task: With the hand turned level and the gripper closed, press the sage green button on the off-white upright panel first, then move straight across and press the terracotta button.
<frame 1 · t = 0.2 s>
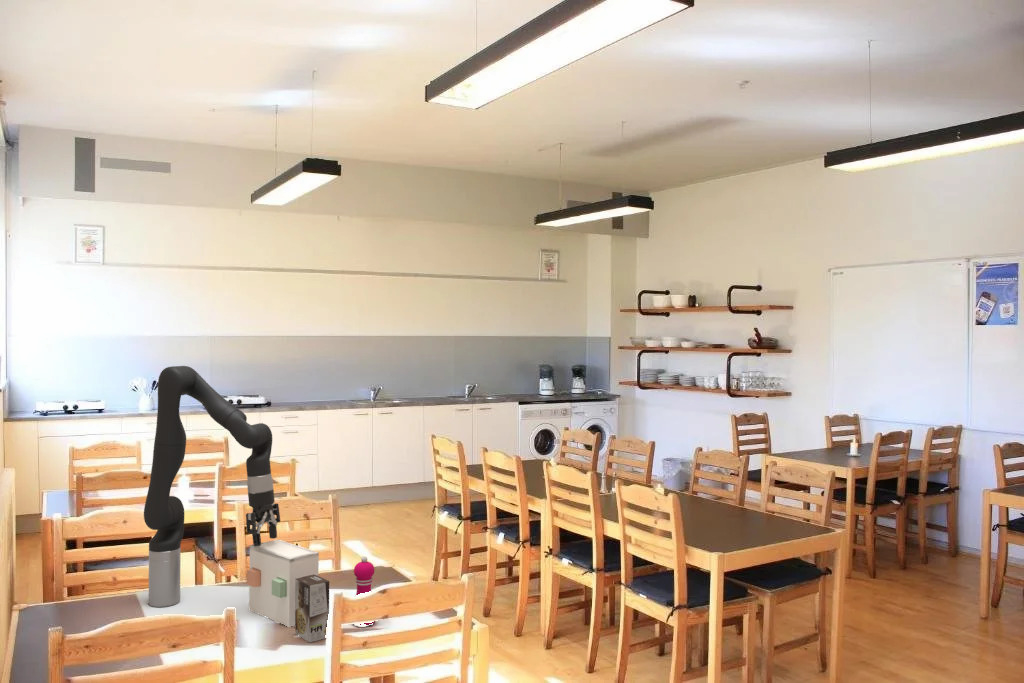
hand: (265, 542, 250), 22 cm above the table, tool pointing down, fingers open, 8 cm apart
coffee box: (311, 636, 232), on the table
pepper mill: (363, 624, 242), on the table
terracotta button: (256, 577, 250), point 11 cm above the table, slide at 0.0 cm
sage button: (281, 587, 240), point 11 cm above the table, slide at 0.0 cm
button panel: (283, 614, 249), on the table
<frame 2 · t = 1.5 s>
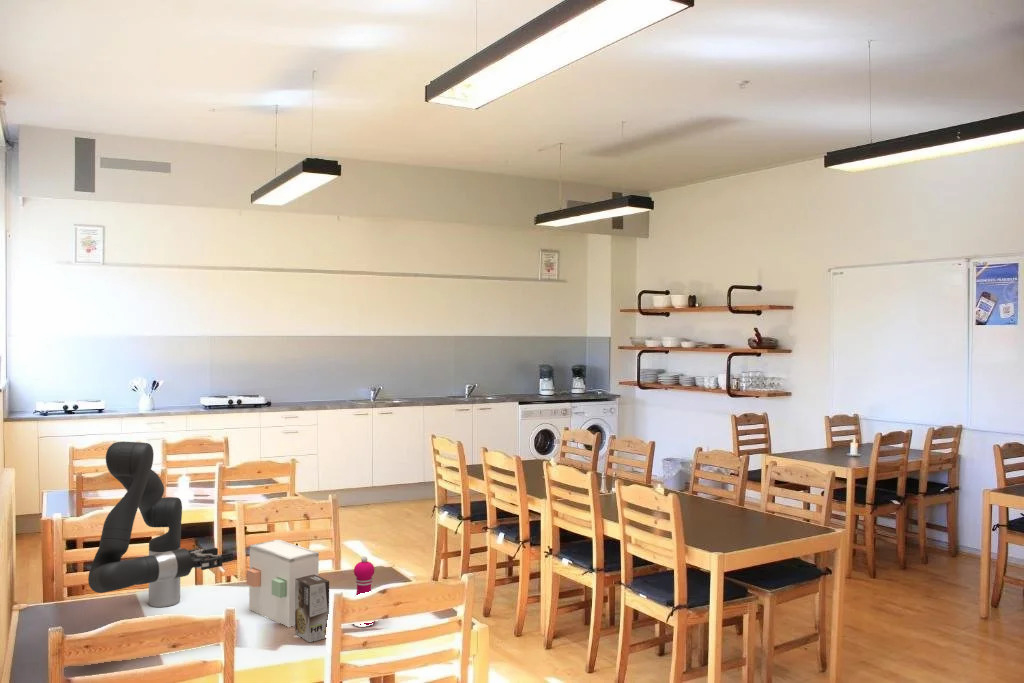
hand: (224, 554, 234), 22 cm above the table, tool horizontal, fingers open, 8 cm apart
nothing on the table moved.
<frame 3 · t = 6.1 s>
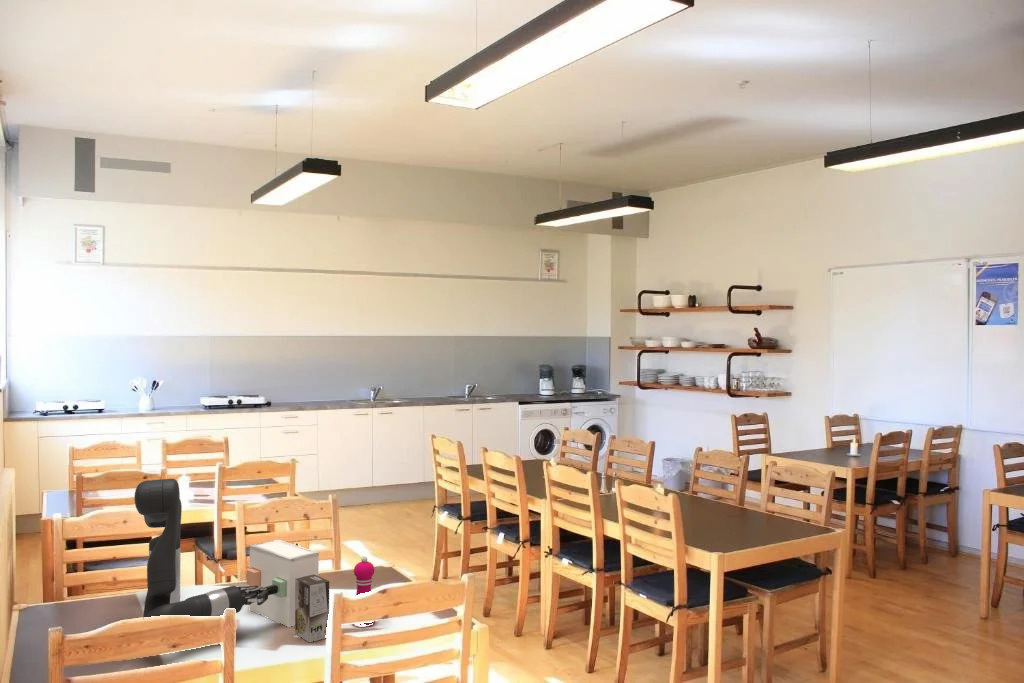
hand: (276, 588, 239), 11 cm above the table, tool horizontal, fingers closed
sage button: (282, 587, 241), point 11 cm above the table, slide at 0.2 cm, touching gripper
everything else where it was.
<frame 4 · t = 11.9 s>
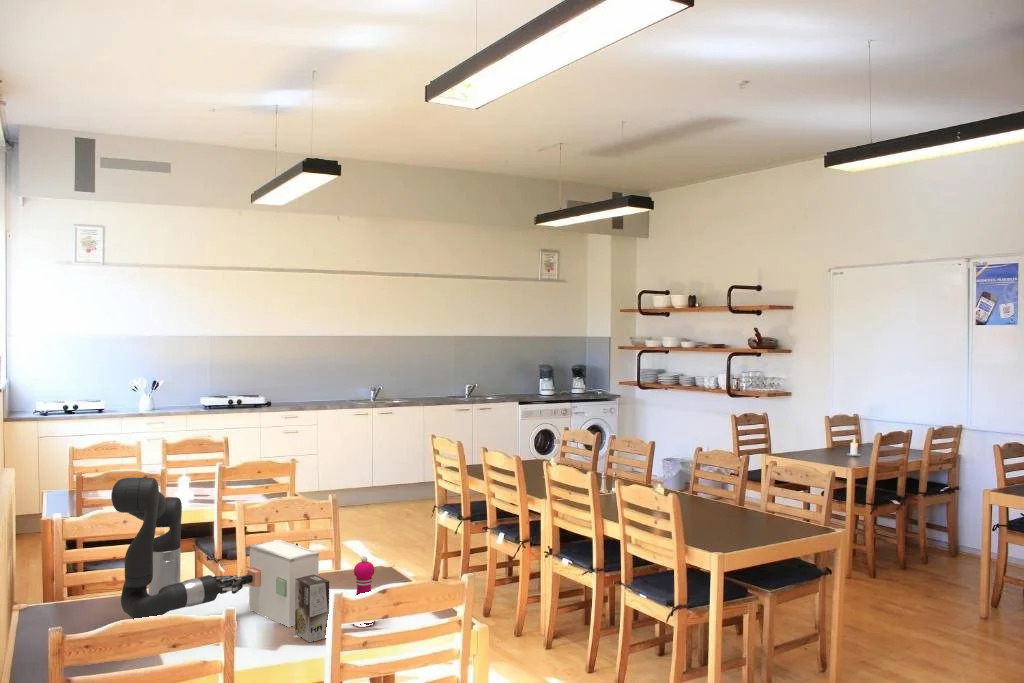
hand: (251, 578, 248), 11 cm above the table, tool horizontal, fingers closed
terracotta button: (257, 576, 250), point 11 cm above the table, slide at 0.2 cm, touching gripper
sage button: (286, 586, 242), point 11 cm above the table, slide at 1.4 cm
everything else where it was.
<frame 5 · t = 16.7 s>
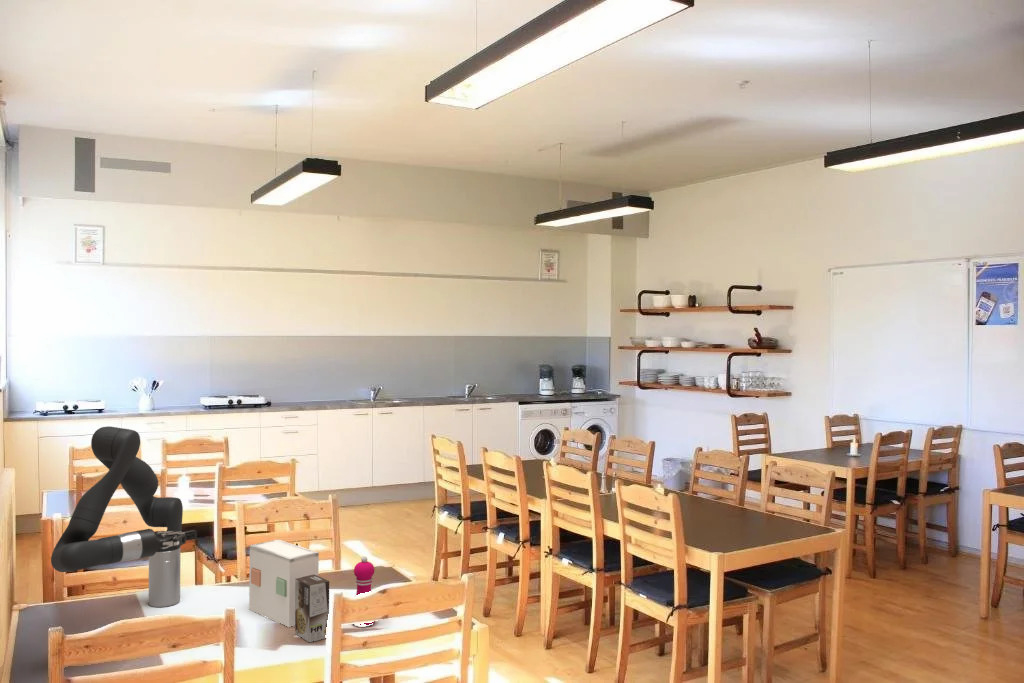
hand: (195, 534, 234), 28 cm above the table, tool horizontal, fingers closed
terracotta button: (260, 576, 251), point 11 cm above the table, slide at 1.5 cm
everything else where it was.
at the end: sage button slide at 1.4 cm; terracotta button slide at 1.5 cm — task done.
